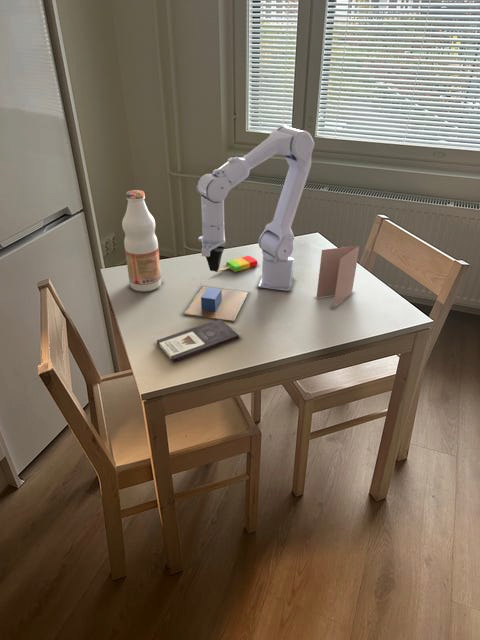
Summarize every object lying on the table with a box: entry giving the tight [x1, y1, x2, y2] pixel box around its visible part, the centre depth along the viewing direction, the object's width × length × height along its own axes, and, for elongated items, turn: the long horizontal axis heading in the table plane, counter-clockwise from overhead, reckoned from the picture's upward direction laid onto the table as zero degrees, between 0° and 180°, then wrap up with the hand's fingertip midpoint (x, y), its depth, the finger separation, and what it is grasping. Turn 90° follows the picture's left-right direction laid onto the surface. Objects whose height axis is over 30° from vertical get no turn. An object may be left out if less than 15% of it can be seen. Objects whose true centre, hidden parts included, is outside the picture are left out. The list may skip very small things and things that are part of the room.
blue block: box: [201, 286, 222, 312], centre depth 125 cm, size 4×4×6 cm
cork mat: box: [183, 286, 249, 322], centre depth 128 cm, size 14×16×1 cm
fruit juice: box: [121, 189, 162, 292], centre depth 130 cm, size 9×9×28 cm
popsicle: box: [214, 255, 258, 273], centre depth 147 cm, size 6×15×2 cm, turn 124°
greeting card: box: [316, 244, 360, 309], centre depth 126 cm, size 11×7×15 cm, turn 107°
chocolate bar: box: [156, 319, 240, 363], centre depth 112 cm, size 9×1×18 cm
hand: (214, 270), depth 125 cm, fingers closed
